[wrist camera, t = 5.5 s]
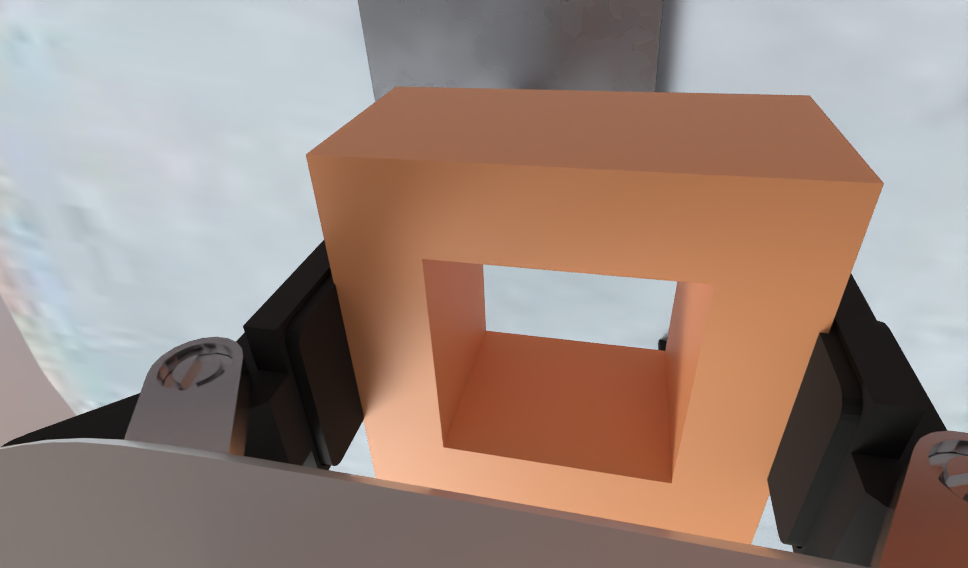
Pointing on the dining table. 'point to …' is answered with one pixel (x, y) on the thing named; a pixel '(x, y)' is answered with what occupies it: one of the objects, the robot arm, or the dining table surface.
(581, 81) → the plate
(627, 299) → the dining table surface
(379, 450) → the orange square ring block
